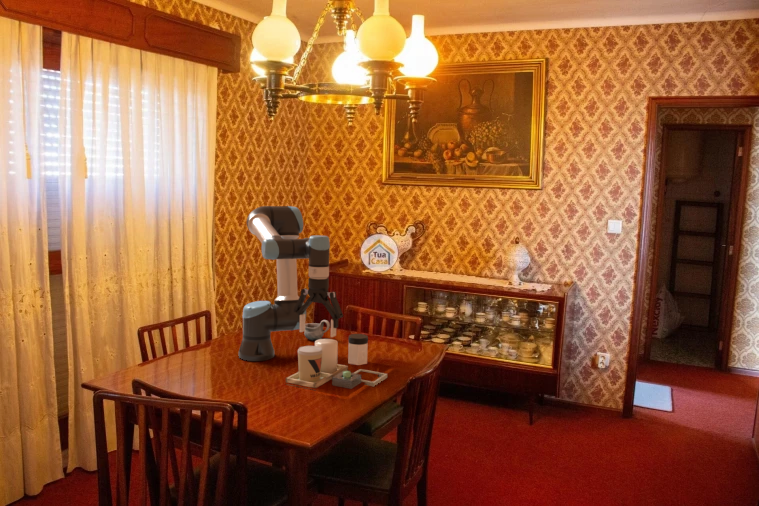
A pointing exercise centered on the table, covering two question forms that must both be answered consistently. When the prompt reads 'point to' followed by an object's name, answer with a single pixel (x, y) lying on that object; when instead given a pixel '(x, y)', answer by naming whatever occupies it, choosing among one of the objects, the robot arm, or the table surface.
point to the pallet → (323, 379)
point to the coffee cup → (309, 363)
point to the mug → (315, 330)
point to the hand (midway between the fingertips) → (317, 333)
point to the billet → (328, 354)
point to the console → (346, 380)
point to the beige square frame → (370, 383)
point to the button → (346, 374)
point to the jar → (357, 349)
